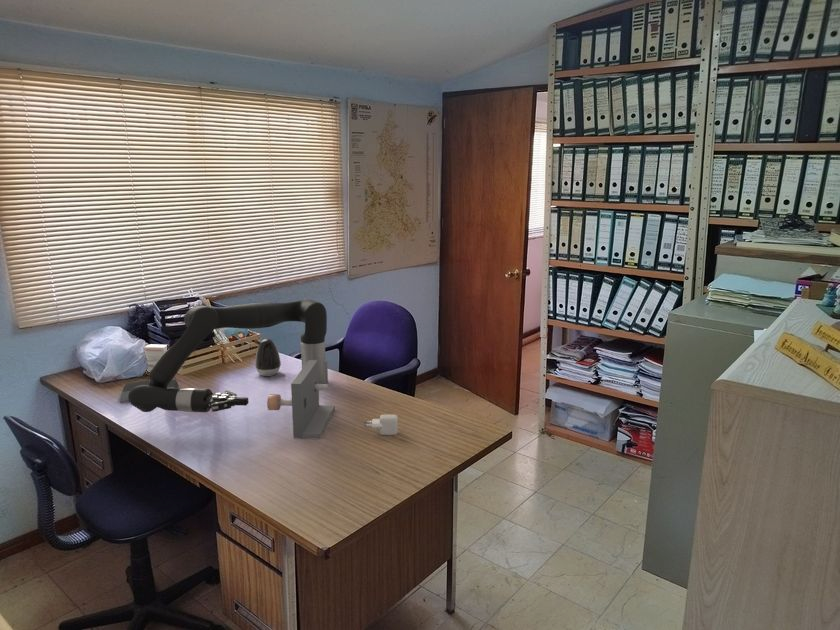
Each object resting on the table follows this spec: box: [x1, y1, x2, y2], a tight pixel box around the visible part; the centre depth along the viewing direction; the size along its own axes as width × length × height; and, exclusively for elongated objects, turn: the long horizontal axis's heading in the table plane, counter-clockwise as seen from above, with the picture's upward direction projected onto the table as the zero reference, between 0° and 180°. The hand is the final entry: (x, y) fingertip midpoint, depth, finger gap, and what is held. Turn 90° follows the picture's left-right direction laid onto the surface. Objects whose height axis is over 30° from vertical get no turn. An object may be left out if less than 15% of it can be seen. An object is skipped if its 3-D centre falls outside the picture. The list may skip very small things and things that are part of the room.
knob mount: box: [290, 360, 336, 440], centre depth 198 cm, size 8×24×18 cm, turn 177°
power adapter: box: [362, 414, 399, 436], centre depth 192 cm, size 11×5×6 cm, turn 92°
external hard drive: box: [119, 378, 179, 403], centre depth 225 cm, size 13×19×4 cm
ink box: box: [143, 343, 168, 372], centre depth 248 cm, size 9×5×12 cm, turn 84°
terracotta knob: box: [266, 393, 292, 411], centre depth 191 cm, size 10×5×5 cm, turn 87°
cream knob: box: [314, 383, 329, 391], centre depth 205 cm, size 10×5×5 cm, turn 87°
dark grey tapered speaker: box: [253, 338, 282, 377], centre depth 246 cm, size 10×10×15 cm
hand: (247, 401), depth 191 cm, fingers closed
